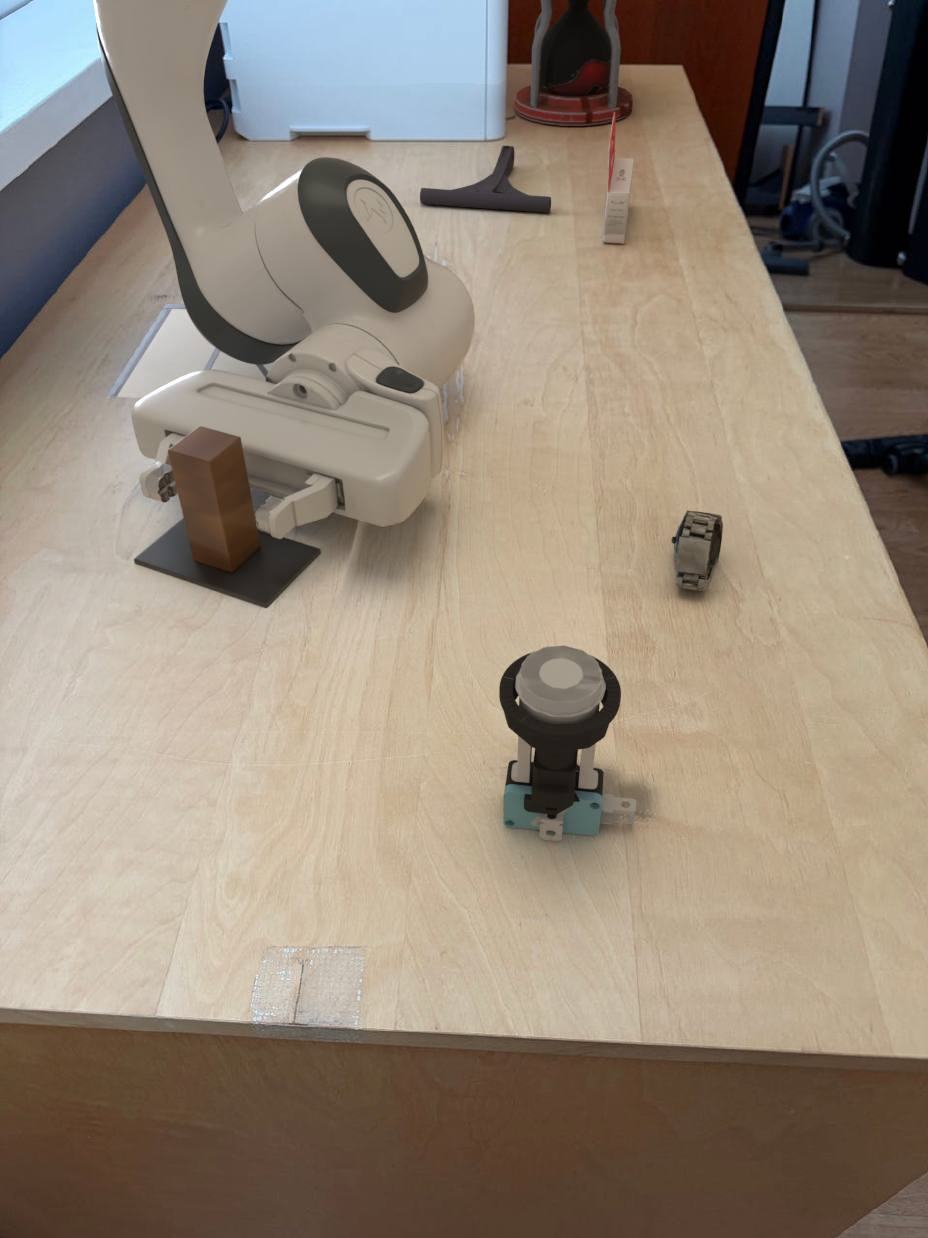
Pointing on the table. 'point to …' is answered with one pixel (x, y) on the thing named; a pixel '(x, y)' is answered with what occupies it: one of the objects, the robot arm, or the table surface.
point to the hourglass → (575, 69)
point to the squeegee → (490, 191)
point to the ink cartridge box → (617, 194)
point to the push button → (559, 742)
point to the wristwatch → (697, 549)
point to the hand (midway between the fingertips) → (206, 508)
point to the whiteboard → (175, 356)
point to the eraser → (222, 526)
